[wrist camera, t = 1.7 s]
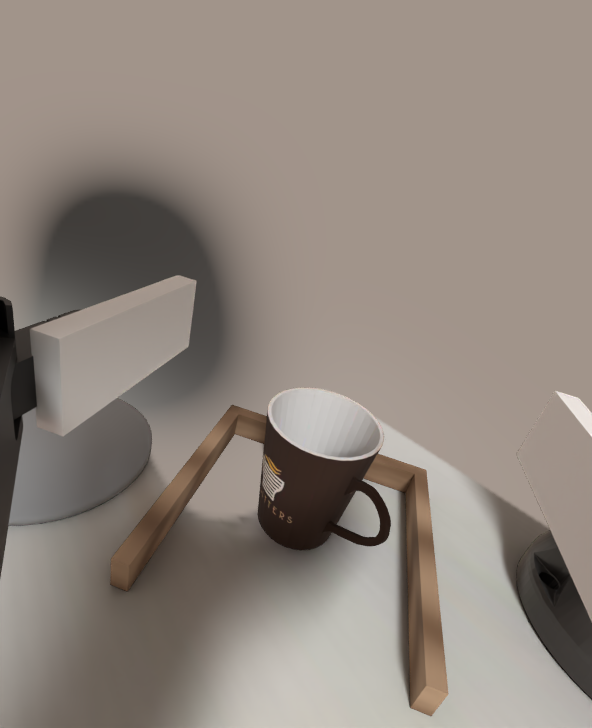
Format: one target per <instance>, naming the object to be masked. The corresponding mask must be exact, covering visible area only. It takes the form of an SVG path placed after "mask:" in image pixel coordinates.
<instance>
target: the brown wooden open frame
mask: <svg viewBox="0 0 592 728" xmlns="http://www.w3.org/2000/svg"><path fill="white" fill-rule="evenodd" d="M266 420H267V416H264V415H261V414H258V413H255V412H252V411H249V410H246V409H243V408H240V407H237V406H234V405H231V407H230V408H229V409H228V410H227V412H226V413H225V414H224V416H223V417H222V418H221V419H220V421H219V422H218V423H217V425H216V426H215V427H214V428H213V430H212V431H211V432H210V434H209V435H208V436H207V437H206V438H205V440H204V441H203V442H202V444H201V445H200V446H199V447H198V449H197V450H196V451H195V452H194V454H193V455H192V456H191V458H190V459H189V460H188V461H187V463H186V464H185V465H184V466H183V468H182V469H181V470H180V472H179V473H178V474H177V475H176V477H175V478H174V479H173V480H172V482H171V483H170V484H169V486H168V487H167V488H166V489H165V491H164V492H163V493H162V494H161V496H160V497H159V498H158V500H157V501H156V502H155V503H154V505H153V506H152V507H151V508H150V510H149V511H148V512H147V514H146V515H145V516H144V517H143V519H142V520H141V521H140V522H139V524H138V525H137V526H136V528H135V529H134V530H133V531H132V533H131V534H130V535H129V536H128V538H127V539H126V540H125V542H124V543H123V544H122V545H121V547H120V548H119V549H118V550H117V552H116V553H115V554H114V555H113V557H112V558H111V580H110V585H112V586H115V587H117V588H120V589H122V590H125V591H127V592H128V590H129V589H130V587H131V586H132V584H133V583H134V581H135V580H136V579H137V577H138V576H139V574H140V573H141V571H142V570H143V568H144V567H145V565H146V564H147V562H148V561H149V559H150V558H151V556H152V555H153V554H154V552H155V551H156V549H157V548H158V546H159V545H160V543H161V542H162V540H163V539H164V537H165V536H166V534H167V533H168V531H169V530H170V528H171V527H172V526H173V524H174V523H175V521H176V520H177V518H178V517H179V515H180V514H181V512H182V511H183V509H184V508H185V506H186V505H187V503H188V502H189V500H190V499H191V498H192V496H193V495H194V493H195V492H196V490H197V489H198V487H199V486H200V484H201V483H202V481H203V480H204V478H205V477H206V476H207V474H208V473H209V471H210V470H211V468H212V467H213V465H214V464H215V462H216V461H217V459H218V458H219V456H220V455H221V453H222V452H223V451H224V449H225V448H226V446H227V445H228V443H229V442H230V440H231V439H232V437H233V436H234V434H237V435H239V436H242V437H245V438H248V439H251V440H254V441H257V442H260V443H263V444H264V442H265V431H266ZM364 479H367V480H370V481H372V482H375V483H378V484H381V485H384V486H387V487H390V488H393V489H396V490H398V491H401V492H404V493H406V536H407V581H408V626H409V671H410V708H412V709H415V710H417V711H419V712H422V713H424V714H427V715H429V716H432V714H433V713H434V712H435V711H436V709H437V708H438V707H439V705H440V704H441V703H442V702H443V700H444V699H445V698H446V696H447V695H448V686H447V675H446V665H445V655H444V645H443V635H442V625H441V615H440V604H439V594H438V584H437V574H436V564H435V554H434V544H433V533H432V523H431V513H430V503H429V493H428V483H427V473H426V470H425V469H422V468H419V467H416V466H413V465H410V464H407V463H404V462H401V461H398V460H395V459H392V458H389V457H386V456H383V455H380V454H377V456H376V457H375V459H374V461H373V462H372V464H371V466H370V468H369V469H368V471H367V473H366V474H365V476H364Z"/></svg>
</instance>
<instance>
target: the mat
mask: <svg viewBox="0 0 592 728" xmlns="http://www.w3.org/2000/svg"><path fill="white" fill-rule="evenodd" d="M22 417H23V433H22V439H21V446H20V452H19V459H18V465H17V472H16V478H15V485H14V492H13V498H12V505H11V511H10V518H9V524H8V526H21V525H31V524H41V523H46V522H51V521H56V520H60V519H64V518H67V517H71V516H74V515H77V514H80V513H82V512H85V511H88V510H90V509H92V508H94V507H96V506H99V505H101V504H103V503H105V502H106V501H108V500H110V499H111V498H113V497H115V496H116V495H118V494H119V493H120V492H122V491H123V490H124V489H126V488H127V487H128V486H129V485H130V484H131V483H132V482H133V481H134V480H135V479H136V478H137V477H138V476H139V475H140V473H141V472H142V471H143V469H144V467H145V466H146V464H147V462H148V459H149V456H150V452H151V444H152V434H151V430H150V426H149V424H148V422H147V420H146V419H145V418H144V416H143V415H142V414H141V413H140V412H139V411H138V410H137V409H136V408H134V407H133V406H131V405H130V404H128V403H126V402H125V401H123V400H121V399H118V398H116V399H115V400H113V401H112V402H110V403H109V404H108V405H106V406H105V407H104V408H102V409H101V410H99V411H98V412H97V413H95V414H94V415H92V416H91V417H90V418H88V419H87V420H85V421H84V422H83V423H81V424H80V425H78V426H77V427H76V428H74V429H73V430H72V431H70V432H69V433H67V434H66V435H65V436H60V435H58V434H55V433H52V432H50V431H47V430H44V429H42V428H39V427H37V421H36V407H35V408H34V409H32V410H30V411H29V412H27V413H25V414H23V415H22Z"/></svg>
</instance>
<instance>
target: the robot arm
mask: <svg viewBox="0 0 592 728" xmlns="http://www.w3.org/2000/svg"><path fill="white" fill-rule="evenodd" d="M195 288H196V281H195V280H192V279H188V278H185V277H182V276H179V275H177V276H174V277H171V278H169V279H166V280H163V281H160V282H157V283H155V284H152V285H149V286H147V287H144V288H141V289H138V290H135V291H133V292H130V293H127V294H124V295H122V296H119V297H116V298H113V299H111V300H108V301H105V302H102V303H100V304H97V305H94V306H91V307H89V308H86V309H81V310H73V311H70V312H68V313H64V314H62V315H59V316H58V317H53V318H50V319H48V320H47V321H42V322H39V323H36V324H33V325H31V326H28V327H25V328H22V329H19V330H17V331H14V320H13V309H12V303H11V301H9V300H8V299H6V298H3V297H0V577H1V570H2V564H3V557H4V551H5V544H6V537H7V531H8V524H9V518H10V511H11V505H12V498H13V492H14V485H15V478H16V472H17V465H18V459H19V452H20V446H21V439H22V433H23V417H22V415H23V414H25V413H27V412H29V411H30V410H32V409H34V408H35V407H36V421H37V427H39V428H42V429H44V430H47V431H50V432H52V433H55V434H58V435H60V436H65V435H66V434H67V433H69V432H70V431H72V430H73V429H74V428H76V427H77V426H78V425H80V424H81V423H83V422H84V421H85V420H87V419H88V418H90V417H91V416H92V415H94V414H95V413H97V412H98V411H99V410H101V409H102V408H104V407H105V406H106V405H108V404H109V403H110V402H112V401H113V400H115V399H116V398H117V397H119V396H120V395H122V394H123V393H124V392H126V391H127V390H128V389H130V388H131V387H133V386H134V385H135V384H137V383H138V382H140V381H141V380H142V379H144V378H145V377H147V376H148V375H149V374H151V373H152V372H154V371H155V370H156V369H158V368H159V367H161V366H162V365H163V364H165V363H166V362H168V361H169V360H170V359H172V358H173V357H174V356H176V355H177V354H179V353H180V352H181V351H183V350H184V349H186V348H187V347H188V345H189V337H190V329H191V321H192V312H193V305H194V296H195ZM517 457H518V459H519V461H520V463H521V466H522V468H523V470H524V473H525V475H526V477H527V479H528V482H529V484H530V486H531V488H532V490H533V493H534V495H535V497H536V499H537V502H538V503H539V506H540V508H541V510H542V513H543V515H544V517H545V519H546V522H547V524H548V526H549V528H550V530H549V531H547V532H545V533H543V534H542V535H540V536H539V537H538V538H536V539H535V540H534V541H533V543H532V544H531V545H530V547H529V548H528V549H527V551H526V552H525V554H524V555H523V556H522V558H521V559H520V561H519V564H518V568H517V585H518V590H519V594H520V598H521V601H522V603H523V606H524V609H525V611H526V613H527V615H528V617H529V619H530V621H531V623H532V625H533V627H534V628H535V630H536V632H537V633H538V635H539V637H540V638H541V640H542V641H543V643H544V644H545V646H546V647H547V648H548V650H549V651H550V653H551V654H552V655H553V657H554V658H555V659H556V660H557V662H558V663H559V664H560V665H561V667H562V668H563V669H564V670H565V671H566V672H567V674H568V675H569V676H570V677H571V678H572V679H573V680H574V681H575V682H576V683H577V684H578V685H579V686H580V687H581V689H582V690H583V691H584V692H585V693H586V694H587V695H589V696H590V697H591V698H592V413H591V412H590V410H589V409H588V408H587V407H586V406H585V405H584V404H583V403H582V401H581V400H580V399H579V398H577V397H574V396H570V395H567V394H564V393H561V392H557V391H555V392H554V393H553V395H552V396H551V398H550V400H549V401H548V403H547V405H546V406H545V408H544V410H543V411H542V413H541V414H540V416H539V418H538V419H537V421H536V423H535V424H534V426H533V428H532V429H531V431H530V432H529V434H528V436H527V437H526V439H525V441H524V442H523V444H522V446H521V447H520V449H519V450H518V452H517Z"/></svg>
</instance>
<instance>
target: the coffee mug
mask: <svg viewBox="0 0 592 728" xmlns="http://www.w3.org/2000/svg"><path fill="white" fill-rule="evenodd" d="M383 441H384V433H383V430H382V427H381V425H380V424H379V422H378V421H377V419H376V418H375V417H374V416H373V415H372V414H371V413H370V412H369V411H368V410H367V409H365V408H364V407H363V406H361V405H360V404H358V403H357V402H355V401H353V400H351V399H349V398H347V397H345V396H343V395H340V394H337V393H335V392H331V391H327V390H323V389H317V388H293V389H288V390H285V391H282V392H280V393H279V394H277V395H275V396H274V397H273V398H272V399H271V401H270V403H269V405H268V410H267V420H266V431H265V442H264V452H263V463H262V474H261V484H260V494H259V505H258V518H259V522H260V524H261V527H262V528H263V530H264V531H265V533H266V534H267V535H268V536H269V537H270V538H271V539H272V540H274V541H275V542H277V543H278V544H280V545H282V546H284V547H287V548H291V549H295V550H310V549H313V548H316V547H318V546H320V545H322V544H323V543H324V542H325V541H327V539H328V538H329V536H330V535H331V533H334V534H337V535H338V536H340V537H342V538H344V539H347V540H349V541H351V542H353V543H355V544H358V545H364V546H376V545H379V544H381V543H383V542H385V541H386V540H387V538H388V536H389V532H390V526H391V520H390V516H389V512H388V509H387V507H386V505H385V503H384V501H383V499H382V497H381V496H380V495H379V493H378V492H377V490H376V489H375V488H374V487H372V486H371V485H369V484H367V483H366V482H363V481H362V480H363V478H364V476H365V474H366V473H367V471H368V469H369V468H370V466H371V464H372V462H373V461H374V459H375V457H376V456H377V454H378V452H379V450H380V449H381V447H382V445H383ZM356 491H361V492H363V493H365V494H366V495H367V496H368V497H369V498H370V499H371V500H372V501H373V503H374V504H375V506H376V509H377V511H378V514H379V518H380V531H379V533H378V535H377V536H376V537H363V536H360V535H358V534H356V533H353V532H351V531H349V530H347V529H345V528H343V527H340V526H338V525H336V524H337V523H338V521H339V519H340V517H341V516H342V514H343V512H344V511H345V509H346V507H347V505H348V504H349V502H350V500H351V499H352V497H353V495H354V493H355V492H356Z"/></svg>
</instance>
